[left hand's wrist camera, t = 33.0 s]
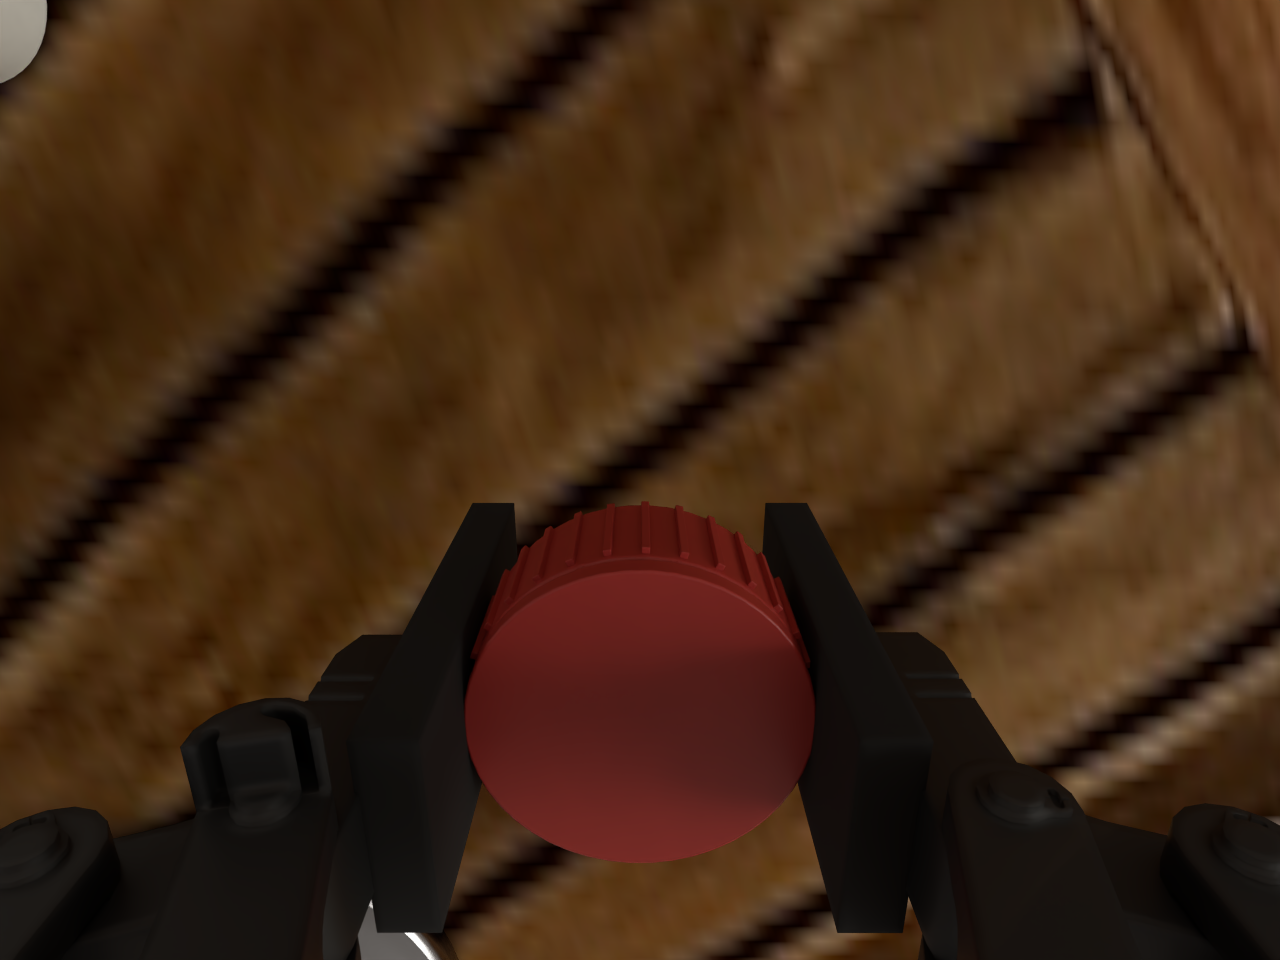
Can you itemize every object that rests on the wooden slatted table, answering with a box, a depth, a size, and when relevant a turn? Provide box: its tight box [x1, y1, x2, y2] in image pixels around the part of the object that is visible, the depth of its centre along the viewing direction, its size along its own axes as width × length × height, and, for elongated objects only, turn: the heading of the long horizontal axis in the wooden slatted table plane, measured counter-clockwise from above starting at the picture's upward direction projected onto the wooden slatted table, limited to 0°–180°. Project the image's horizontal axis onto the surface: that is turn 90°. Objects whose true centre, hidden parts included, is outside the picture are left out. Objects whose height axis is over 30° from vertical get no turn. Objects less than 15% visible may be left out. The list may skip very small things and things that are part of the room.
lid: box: [464, 501, 816, 863], centre depth 11 cm, size 5×5×2 cm
